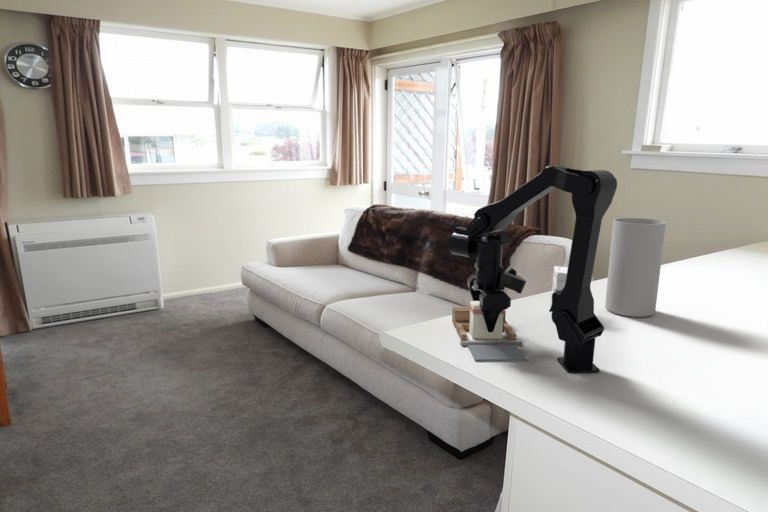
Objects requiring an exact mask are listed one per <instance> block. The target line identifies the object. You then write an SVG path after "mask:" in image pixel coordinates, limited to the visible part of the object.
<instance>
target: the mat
mask: <svg viewBox="0 0 768 512" xmlns="http://www.w3.org/2000/svg"><path fill="white" fill-rule="evenodd" d="M467 347H468V350H469V351H470V353H471V355H472V358H473V360H474V362H508V361H509V362H513V361H514V362H522V361H523V362H527V361H528V358H527V356H526V355H525V354H524V353H523V351H522V350H521V349H520V347H519V345H468V346H467Z"/></svg>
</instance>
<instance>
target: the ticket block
mask: <svg viewBox="0 0 768 512" xmlns="http://www.w3.org/2000/svg"><path fill="white" fill-rule="evenodd" d="M469 304H470V305H469V307H470V325H469V330H468V332H469V335H470V337H471V339H472V338H477V339H478V338H479V339H478V340H480V338H482V340H483V339H484V340H485V339H490V340H491V339H503V331H504V330H503V314H504V310H503V311H502V312H501V313H500V314H499V317H498V319H497V322H496V325H495V328H494V330H493V332H488V330H487V327H486V324H485V321H484V318H483V315H482V312H481V308H480V305H479V304H480V301H473V300H470V303H469Z"/></svg>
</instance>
